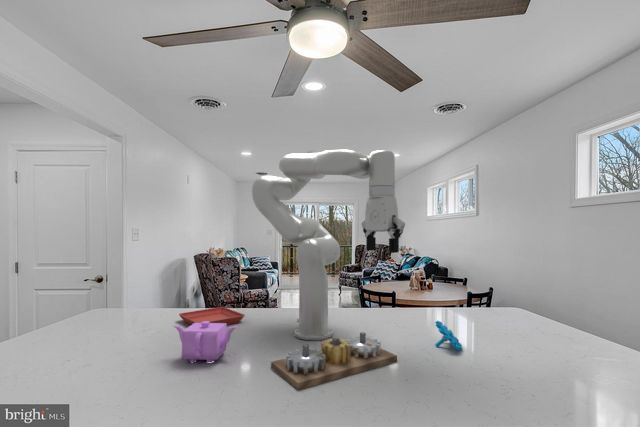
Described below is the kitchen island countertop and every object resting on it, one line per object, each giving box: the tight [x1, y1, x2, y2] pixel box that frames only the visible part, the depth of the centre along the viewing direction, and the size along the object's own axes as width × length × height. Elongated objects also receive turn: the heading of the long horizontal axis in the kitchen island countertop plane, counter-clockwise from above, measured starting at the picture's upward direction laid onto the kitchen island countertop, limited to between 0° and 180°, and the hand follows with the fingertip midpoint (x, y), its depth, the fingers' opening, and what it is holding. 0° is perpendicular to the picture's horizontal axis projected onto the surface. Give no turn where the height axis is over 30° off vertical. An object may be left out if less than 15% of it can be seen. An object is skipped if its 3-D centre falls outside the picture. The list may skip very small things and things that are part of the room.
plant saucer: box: [178, 306, 246, 326], centre depth 130 cm, size 18×18×3 cm
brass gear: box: [320, 338, 350, 364], centre depth 91 cm, size 7×7×4 cm
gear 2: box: [346, 332, 382, 358], centre depth 96 cm, size 10×10×5 cm
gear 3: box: [434, 320, 463, 352], centre depth 104 cm, size 11×6×10 cm
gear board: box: [270, 337, 398, 391], centre depth 91 cm, size 30×14×6 cm, turn 123°
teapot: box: [172, 321, 239, 363], centre depth 96 cm, size 18×13×10 cm
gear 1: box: [285, 343, 325, 374], centre depth 86 cm, size 10×10×5 cm
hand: (382, 251), depth 103 cm, fingers open, 9 cm apart
